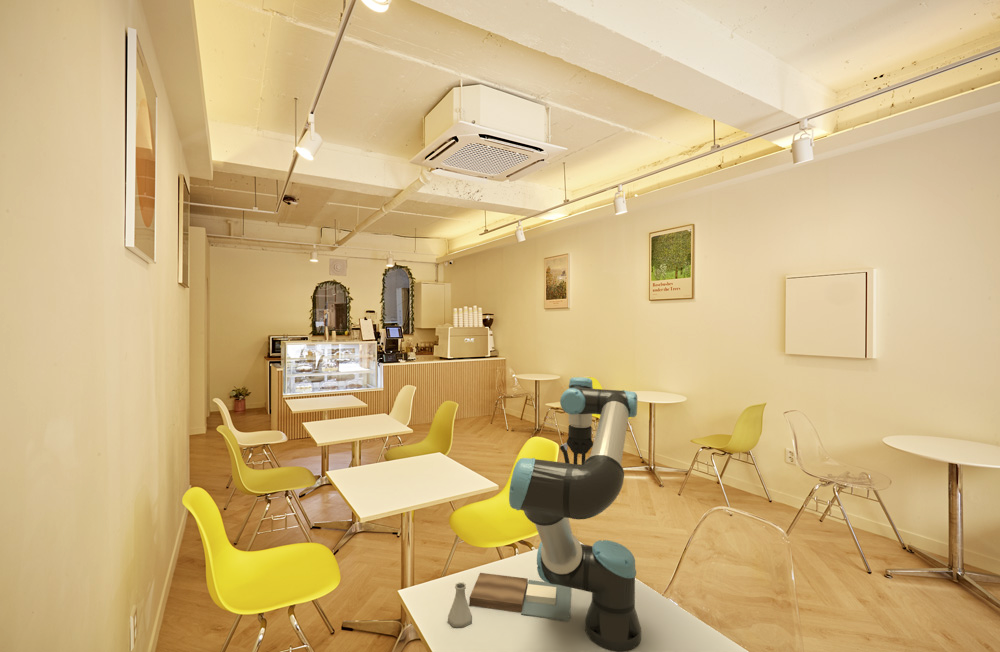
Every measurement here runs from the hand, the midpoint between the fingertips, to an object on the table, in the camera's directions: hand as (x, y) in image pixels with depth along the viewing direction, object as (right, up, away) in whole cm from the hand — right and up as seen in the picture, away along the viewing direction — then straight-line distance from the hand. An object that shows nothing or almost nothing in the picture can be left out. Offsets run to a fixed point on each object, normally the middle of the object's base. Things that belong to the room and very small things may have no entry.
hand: (578, 497), depth 147 cm
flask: (-37, -29, -17) cm, 50 cm away
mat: (-11, -29, -7) cm, 32 cm away
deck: (-26, -29, -5) cm, 39 cm away
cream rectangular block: (-13, -29, -7) cm, 32 cm away
